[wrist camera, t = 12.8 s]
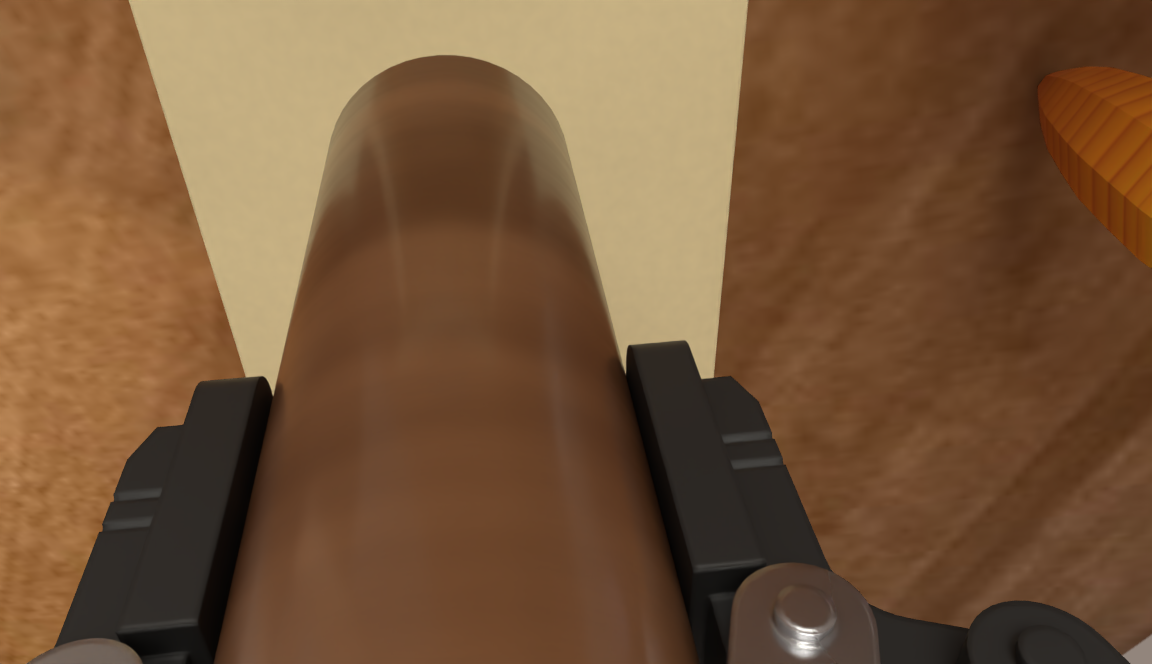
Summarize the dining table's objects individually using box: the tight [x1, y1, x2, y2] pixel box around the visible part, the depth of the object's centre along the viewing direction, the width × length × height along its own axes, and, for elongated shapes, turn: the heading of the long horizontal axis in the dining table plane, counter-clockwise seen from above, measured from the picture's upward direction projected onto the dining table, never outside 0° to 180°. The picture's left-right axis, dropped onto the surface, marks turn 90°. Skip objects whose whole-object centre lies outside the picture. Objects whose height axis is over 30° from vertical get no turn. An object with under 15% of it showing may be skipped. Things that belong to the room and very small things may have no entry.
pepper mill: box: [214, 55, 700, 664], centre depth 12 cm, size 4×4×13 cm
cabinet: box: [129, 0, 748, 395], centre depth 29 cm, size 15×15×9 cm
